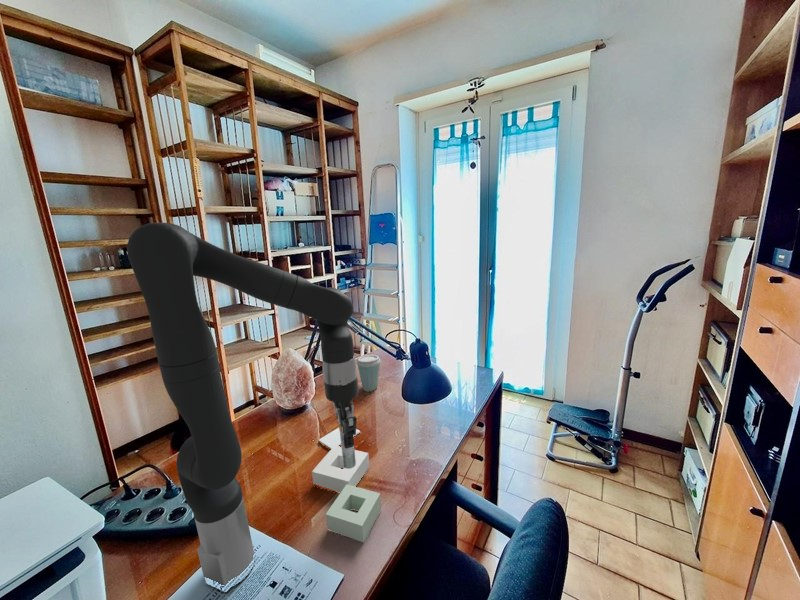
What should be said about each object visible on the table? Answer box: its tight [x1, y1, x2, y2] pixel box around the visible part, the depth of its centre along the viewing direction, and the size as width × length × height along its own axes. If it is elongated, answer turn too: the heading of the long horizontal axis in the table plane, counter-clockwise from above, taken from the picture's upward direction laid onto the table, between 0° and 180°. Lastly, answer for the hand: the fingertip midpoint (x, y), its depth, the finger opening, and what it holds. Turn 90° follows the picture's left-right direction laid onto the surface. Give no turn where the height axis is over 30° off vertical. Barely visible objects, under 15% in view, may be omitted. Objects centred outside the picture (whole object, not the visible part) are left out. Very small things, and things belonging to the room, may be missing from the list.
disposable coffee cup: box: [356, 354, 381, 392], centre depth 151 cm, size 11×11×15 cm
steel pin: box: [338, 424, 356, 469], centre depth 81 cm, size 3×3×11 cm
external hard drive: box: [317, 427, 361, 449], centre depth 119 cm, size 2×8×12 cm
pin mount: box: [325, 484, 382, 543], centre depth 85 cm, size 10×10×5 cm
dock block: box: [311, 445, 371, 492], centre depth 100 cm, size 12×12×5 cm
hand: (347, 442), depth 81 cm, fingers closed on steel pin, 3 cm apart
